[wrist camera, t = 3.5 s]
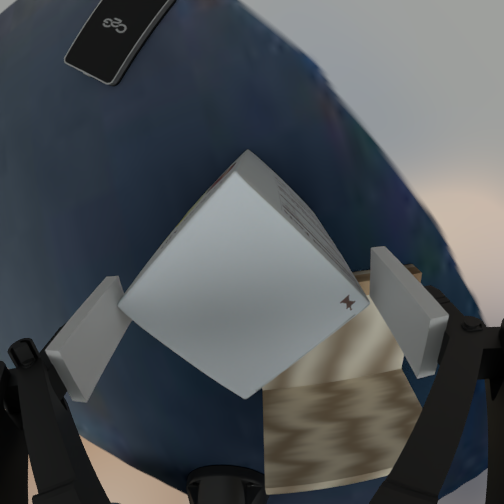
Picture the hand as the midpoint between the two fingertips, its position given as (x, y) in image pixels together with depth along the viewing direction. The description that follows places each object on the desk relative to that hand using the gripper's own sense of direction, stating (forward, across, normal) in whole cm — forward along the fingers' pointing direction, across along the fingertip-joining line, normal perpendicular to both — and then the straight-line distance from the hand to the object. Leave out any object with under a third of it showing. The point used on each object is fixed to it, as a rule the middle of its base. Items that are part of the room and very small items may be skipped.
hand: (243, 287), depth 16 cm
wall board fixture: (+15, +8, -16) cm, 23 cm away
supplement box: (+16, 0, -1) cm, 16 cm away
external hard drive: (+16, -10, +20) cm, 28 cm away
